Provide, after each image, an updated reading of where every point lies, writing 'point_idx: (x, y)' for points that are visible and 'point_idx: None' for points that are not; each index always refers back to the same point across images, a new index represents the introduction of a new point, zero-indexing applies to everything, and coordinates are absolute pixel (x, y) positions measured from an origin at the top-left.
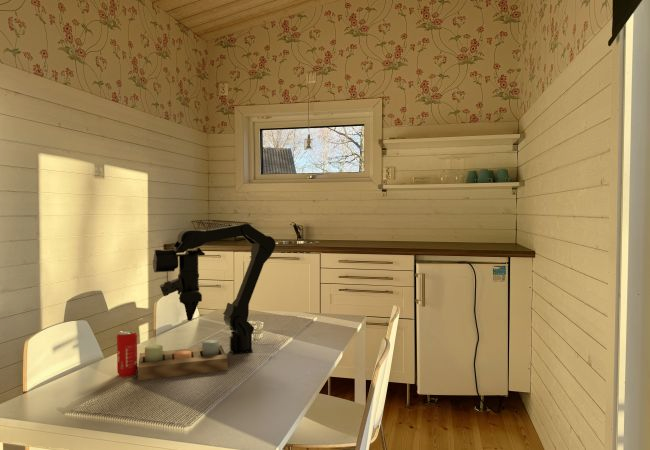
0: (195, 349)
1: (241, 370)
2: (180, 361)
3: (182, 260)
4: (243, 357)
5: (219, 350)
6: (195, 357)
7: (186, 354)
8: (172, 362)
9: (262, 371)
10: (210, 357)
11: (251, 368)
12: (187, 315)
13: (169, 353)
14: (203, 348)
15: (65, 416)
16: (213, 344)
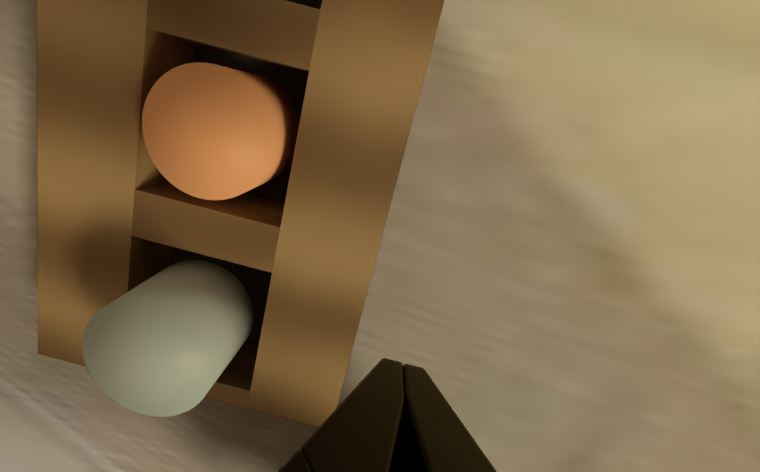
0: (329, 264)
1: (64, 366)
2: (75, 71)
3: None
4: (264, 457)
5: (253, 384)
6: (131, 197)
7: (152, 146)
8: (71, 6)
9: (15, 429)
10: (90, 278)
11: (76, 412)
12: (346, 405)
13: (331, 56)
14: (150, 283)
15: None
16: (87, 354)
